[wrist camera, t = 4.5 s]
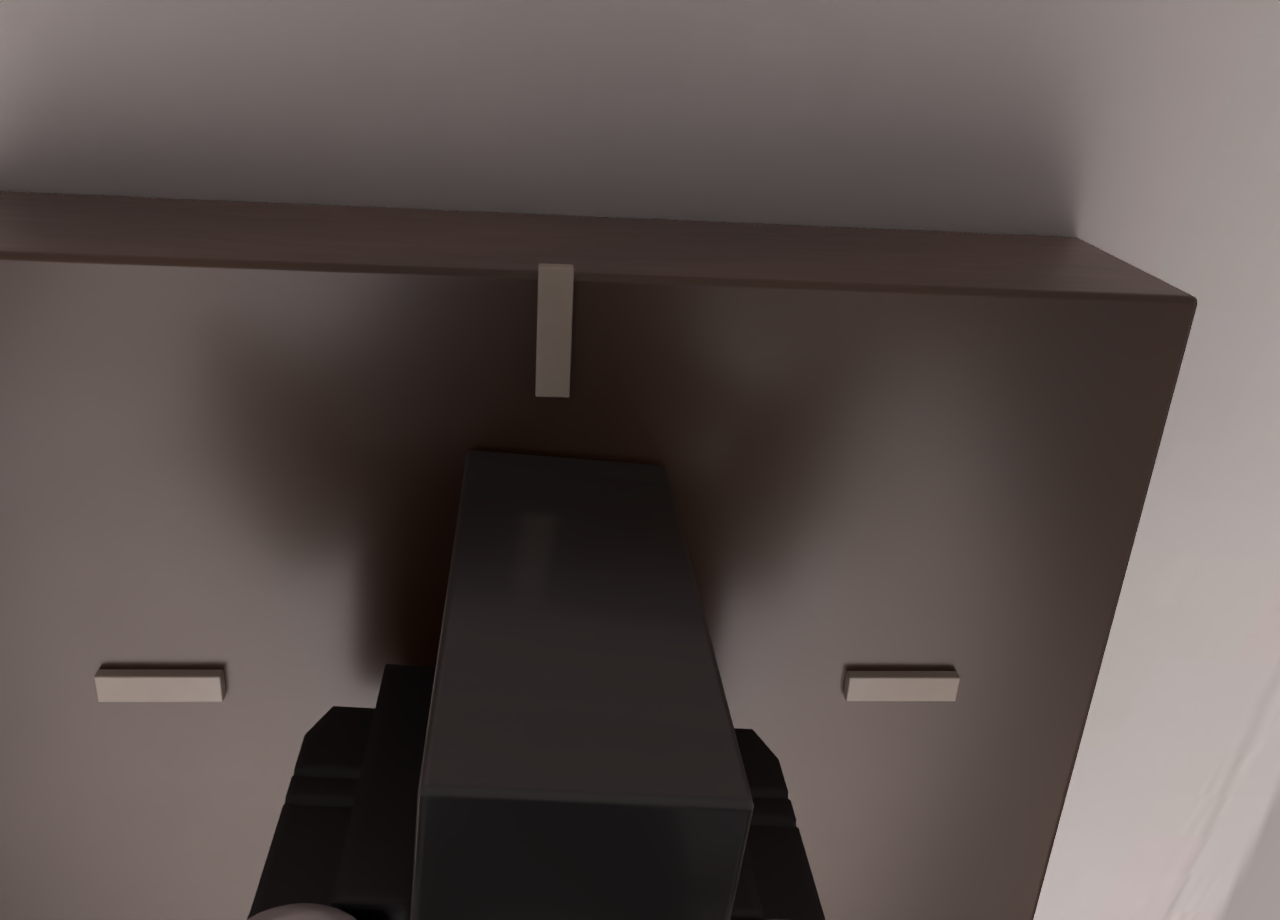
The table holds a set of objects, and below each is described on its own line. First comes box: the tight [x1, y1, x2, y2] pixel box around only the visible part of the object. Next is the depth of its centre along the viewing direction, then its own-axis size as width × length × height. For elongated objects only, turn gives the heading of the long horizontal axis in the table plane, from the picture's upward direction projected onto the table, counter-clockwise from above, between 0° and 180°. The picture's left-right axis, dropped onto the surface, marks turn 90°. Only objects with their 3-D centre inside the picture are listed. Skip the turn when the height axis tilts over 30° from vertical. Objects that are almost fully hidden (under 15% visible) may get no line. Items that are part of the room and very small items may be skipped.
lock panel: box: [0, 191, 1197, 920], centre depth 15 cm, size 14×10×3 cm
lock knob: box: [410, 450, 754, 920], centre depth 11 cm, size 6×2×6 cm, turn 173°
